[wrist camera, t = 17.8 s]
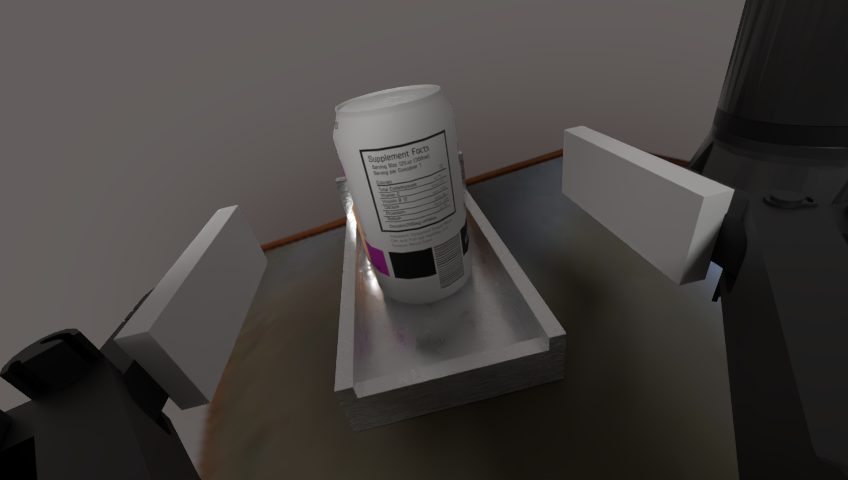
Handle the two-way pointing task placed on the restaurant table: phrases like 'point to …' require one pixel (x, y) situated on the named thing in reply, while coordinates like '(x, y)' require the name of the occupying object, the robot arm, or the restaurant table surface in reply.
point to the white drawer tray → (441, 333)
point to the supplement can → (407, 189)
